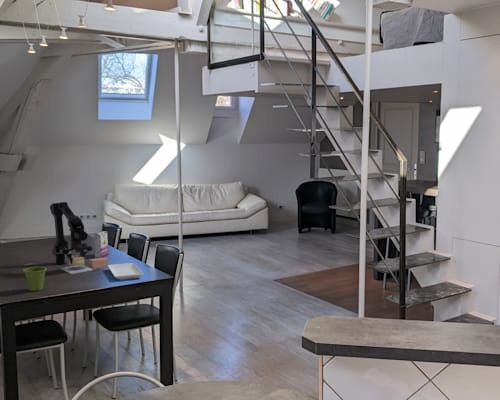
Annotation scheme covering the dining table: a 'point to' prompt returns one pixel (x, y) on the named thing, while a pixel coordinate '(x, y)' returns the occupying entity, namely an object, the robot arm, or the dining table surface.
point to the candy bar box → (101, 244)
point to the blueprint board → (76, 269)
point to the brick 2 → (98, 263)
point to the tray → (125, 271)
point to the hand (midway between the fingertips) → (76, 263)
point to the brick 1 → (77, 261)
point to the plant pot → (35, 277)
